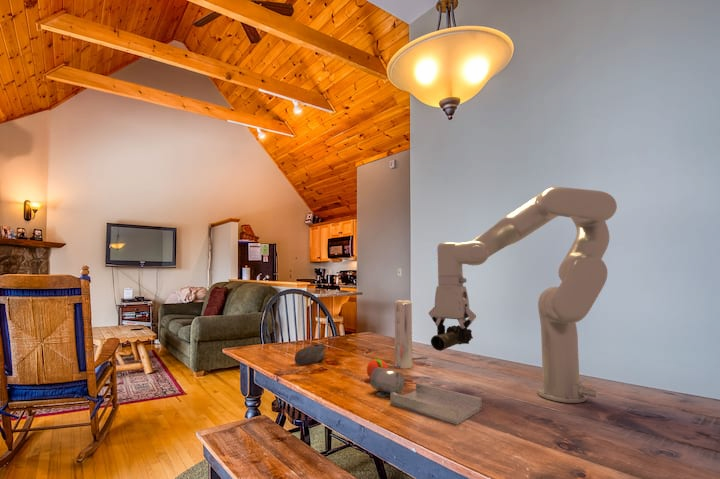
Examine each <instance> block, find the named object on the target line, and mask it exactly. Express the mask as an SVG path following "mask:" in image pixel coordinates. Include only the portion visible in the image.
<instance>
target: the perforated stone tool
mask: <svg viewBox="0 0 720 479" xmlns="http://www.w3.org/2000/svg"><path fill="white" fill-rule="evenodd" d="M325 347H326V346H325V344H324V343H316V344H312V345H309V346H308V345H307V346H306V347H303V348H301V349H300V350H298V351H297V352H296V353H295V356H294V362H295V364H297V365H298V366H299V365H300V366H305V365H312V363H313V364H317V363H318V362H322V361H323V360H324V357H325V353H326V351H325Z"/></svg>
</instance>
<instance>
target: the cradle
mask: <svg viewBox="0 0 720 479" xmlns="http://www.w3.org/2000/svg"><path fill="white" fill-rule="evenodd" d="M389 396H390V397H389V398H390V401H389V402H390V404H389V405H390V406H393V407H397V408H401V409H403V410H407V411H410V412H413V413H417V414H420V415H423V416H426V417H429V418H433V419H436V420H439V421H443V422H447V423H449V424H451V425H452V424H453V425H459V424H461V423H463V422H464V421H465V420H468V419H469V418H471V417H473V416H475V415H476V414H478V413H479V412H481V411H482V410H483V403H482V402H483V398H482V397H479V396H475V395H470V394H466V393H462V392H457V391H453V390H449V389H445V388H442V387H437V386H433V385H429V384H426V383H420V382H417V383H415V390H414V391H412V392H409V393H407V394H401V393H400V394H398V393H394V392H392V393H390V395H389Z"/></svg>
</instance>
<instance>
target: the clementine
mask: <svg viewBox="0 0 720 479" xmlns="http://www.w3.org/2000/svg"><path fill="white" fill-rule="evenodd" d="M377 367H380V368H384V369H388V366H387V364H386V362H385V361H384V360H382V359H380V358H375V359H372V360H370V361H369V362H368V364H367V366H366V374H367V376H368V377H369V378H370V377H371V373H372V371H373V370H374V369H375V368H377Z"/></svg>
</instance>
